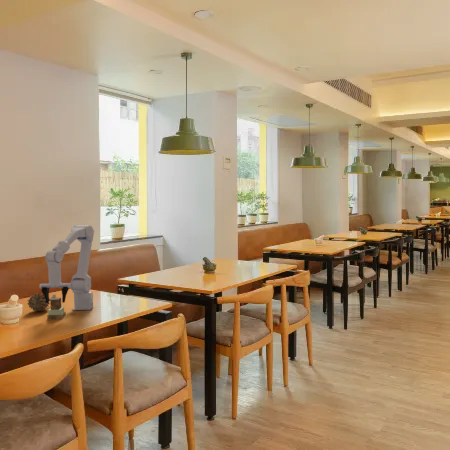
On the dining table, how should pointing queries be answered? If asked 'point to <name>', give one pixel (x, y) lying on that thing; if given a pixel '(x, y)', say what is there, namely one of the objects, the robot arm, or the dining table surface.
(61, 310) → the slab top
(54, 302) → the walnut block
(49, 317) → the slab bottom
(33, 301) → the pine cone
